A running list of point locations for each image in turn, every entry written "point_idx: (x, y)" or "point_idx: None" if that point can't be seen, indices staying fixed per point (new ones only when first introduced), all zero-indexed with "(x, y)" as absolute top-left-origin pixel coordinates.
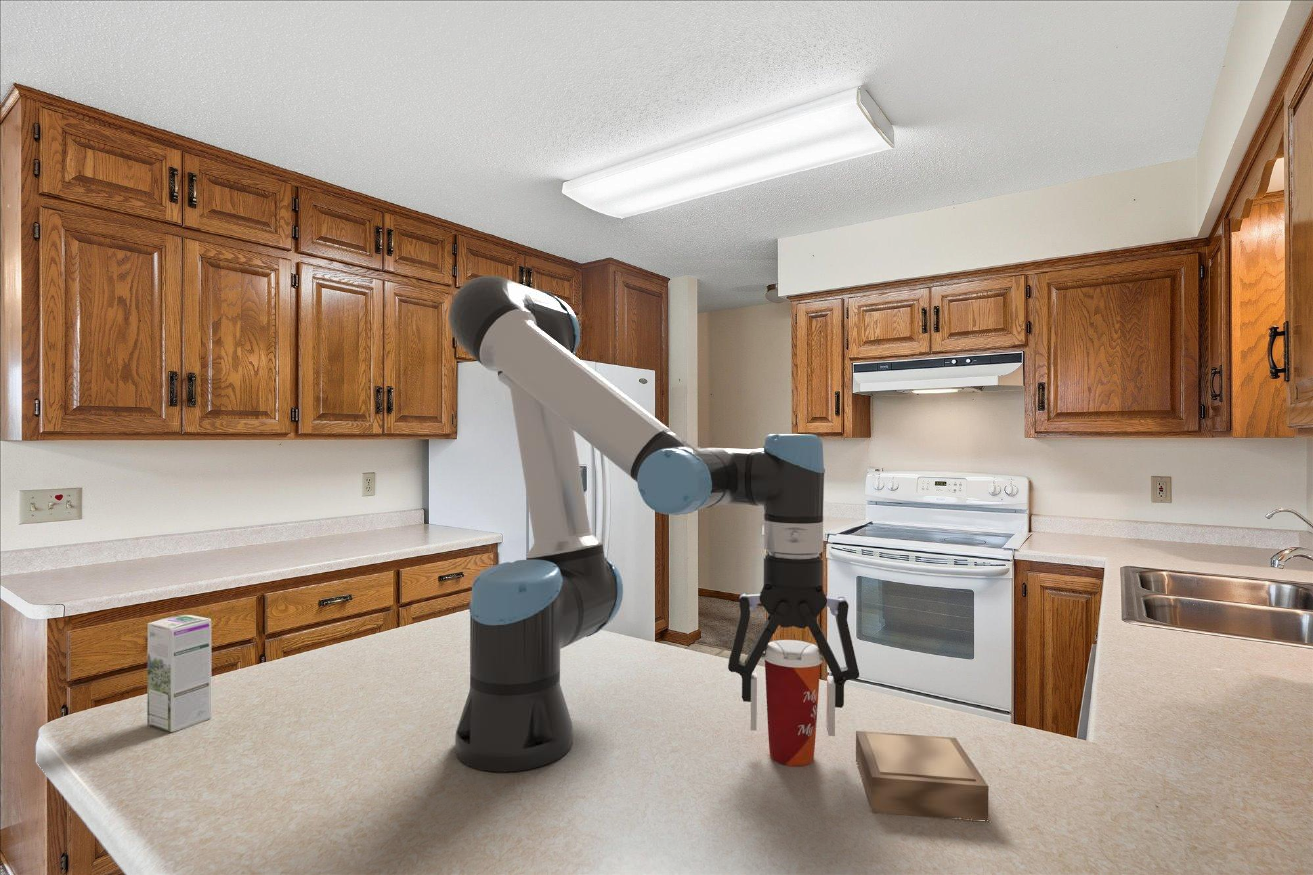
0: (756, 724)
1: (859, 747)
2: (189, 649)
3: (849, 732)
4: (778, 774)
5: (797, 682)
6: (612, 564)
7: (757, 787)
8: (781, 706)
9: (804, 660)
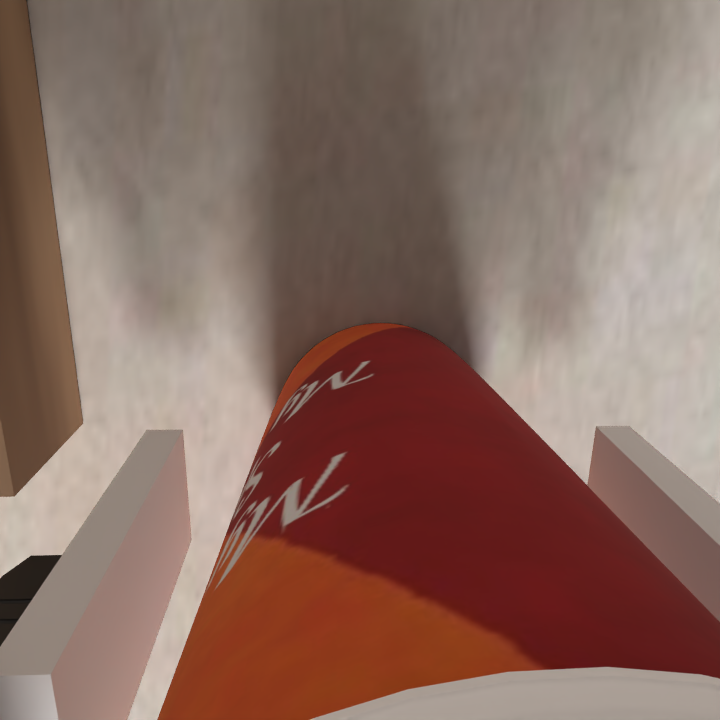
0: (612, 443)
1: (10, 349)
2: None
3: None
4: (454, 233)
5: (434, 539)
6: None
7: (569, 83)
8: (522, 433)
9: None
